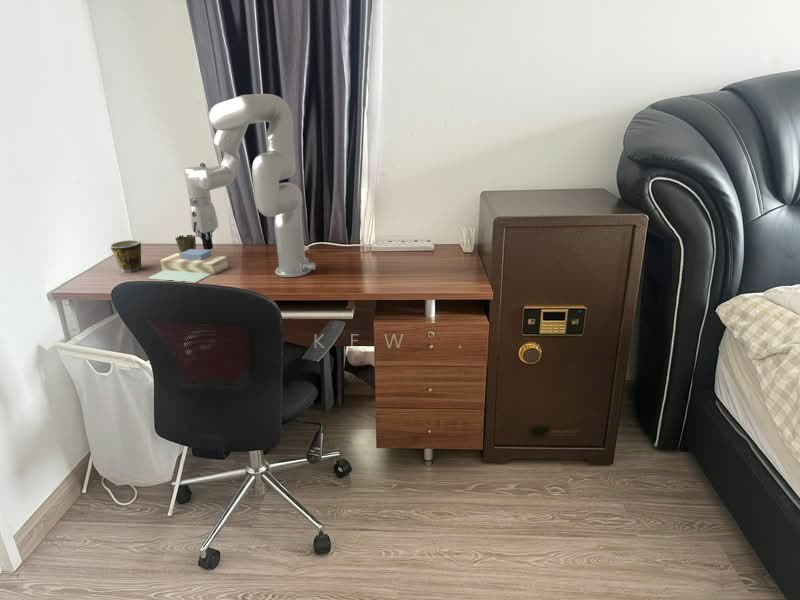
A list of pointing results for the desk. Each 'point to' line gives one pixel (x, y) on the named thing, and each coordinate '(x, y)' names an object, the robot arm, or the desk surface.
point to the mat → (179, 276)
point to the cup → (186, 242)
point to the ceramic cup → (127, 255)
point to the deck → (194, 264)
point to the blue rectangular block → (195, 254)
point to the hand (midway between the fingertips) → (208, 248)
